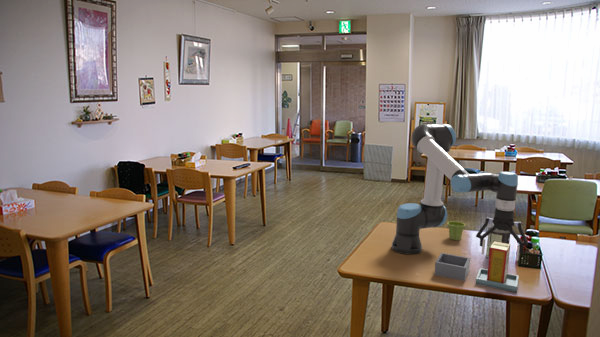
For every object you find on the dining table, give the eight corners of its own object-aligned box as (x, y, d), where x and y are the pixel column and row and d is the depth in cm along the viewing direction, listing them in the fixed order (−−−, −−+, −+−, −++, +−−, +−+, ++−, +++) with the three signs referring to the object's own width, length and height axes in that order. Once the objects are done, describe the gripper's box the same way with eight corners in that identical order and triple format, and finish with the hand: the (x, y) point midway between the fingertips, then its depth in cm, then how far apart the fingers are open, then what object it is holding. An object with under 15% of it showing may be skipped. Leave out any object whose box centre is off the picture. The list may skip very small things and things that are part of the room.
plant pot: (443, 236, 258) (444, 221, 257) (459, 235, 259) (460, 221, 258) (450, 241, 249) (451, 226, 247) (467, 241, 250) (468, 226, 248)
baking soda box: (503, 285, 192) (506, 249, 189) (486, 282, 196) (490, 246, 193) (506, 278, 200) (510, 243, 197) (490, 274, 203) (494, 240, 200)
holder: (434, 274, 204) (435, 262, 203) (440, 264, 216) (441, 252, 215) (464, 281, 198) (465, 268, 197) (469, 270, 210) (470, 258, 209)
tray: (475, 283, 196) (476, 278, 195) (479, 273, 207) (479, 268, 207) (516, 292, 188) (517, 286, 188) (518, 280, 200) (518, 275, 199)
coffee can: (505, 254, 232) (508, 227, 229) (510, 261, 222) (513, 233, 219) (483, 252, 234) (486, 225, 231) (487, 259, 224) (490, 232, 221)
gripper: (472, 206, 194) (467, 253, 198) (537, 215, 183) (531, 265, 187) (474, 202, 201) (470, 248, 205) (538, 211, 189) (532, 259, 193)
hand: (499, 256), depth 196 cm, fingers open, 13 cm apart
